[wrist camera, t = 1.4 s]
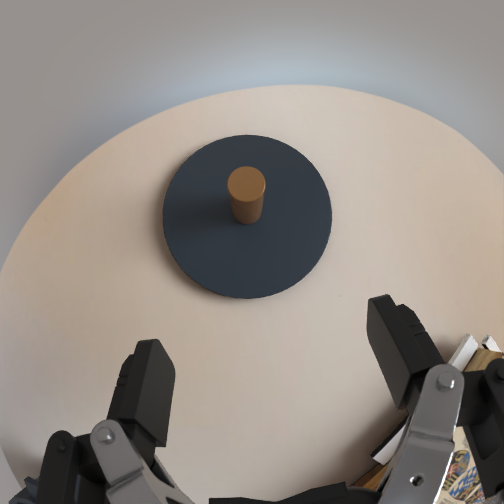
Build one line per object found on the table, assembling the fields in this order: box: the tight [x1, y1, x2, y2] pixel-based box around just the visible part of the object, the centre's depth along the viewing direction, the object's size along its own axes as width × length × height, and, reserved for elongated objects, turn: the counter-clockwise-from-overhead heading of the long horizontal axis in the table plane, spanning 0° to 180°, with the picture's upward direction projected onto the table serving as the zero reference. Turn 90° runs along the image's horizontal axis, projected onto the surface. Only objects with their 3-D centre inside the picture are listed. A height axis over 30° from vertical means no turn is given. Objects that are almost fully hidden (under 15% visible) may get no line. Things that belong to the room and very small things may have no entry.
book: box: [353, 334, 504, 504], centre depth 21 cm, size 25×6×28 cm
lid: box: [163, 135, 332, 299], centre depth 24 cm, size 16×16×8 cm
